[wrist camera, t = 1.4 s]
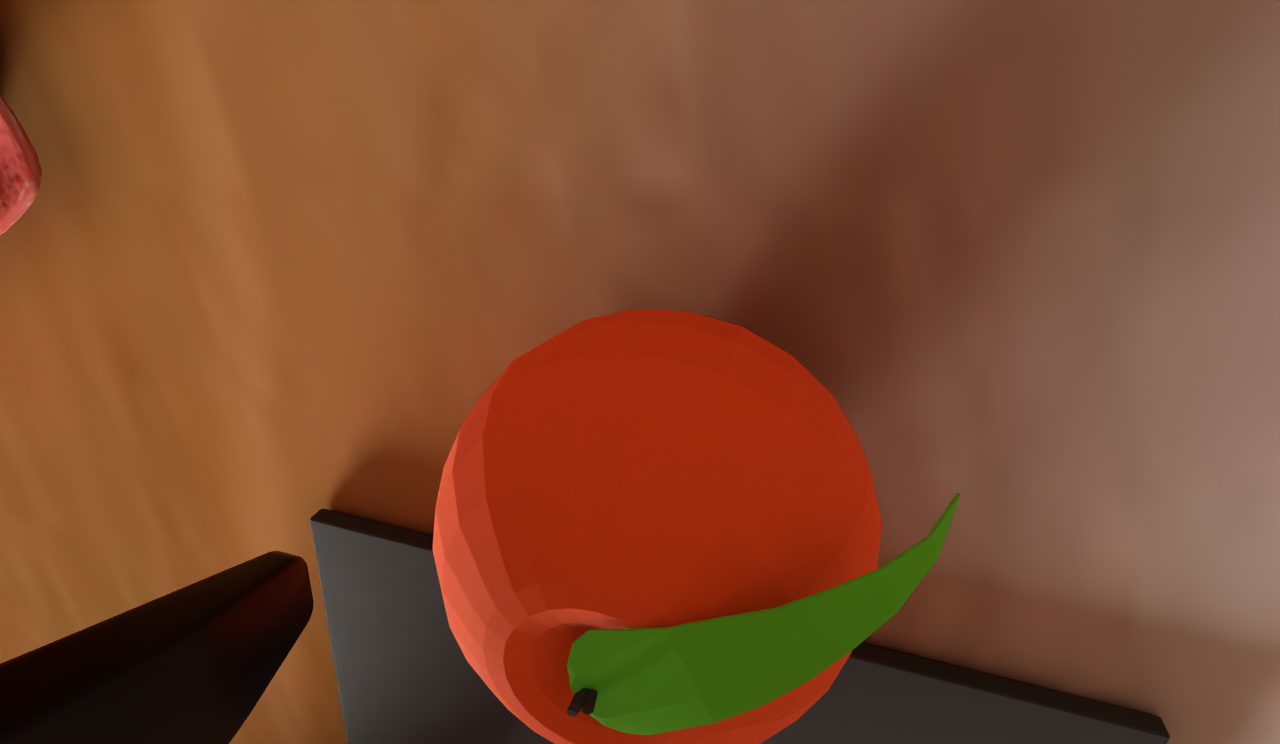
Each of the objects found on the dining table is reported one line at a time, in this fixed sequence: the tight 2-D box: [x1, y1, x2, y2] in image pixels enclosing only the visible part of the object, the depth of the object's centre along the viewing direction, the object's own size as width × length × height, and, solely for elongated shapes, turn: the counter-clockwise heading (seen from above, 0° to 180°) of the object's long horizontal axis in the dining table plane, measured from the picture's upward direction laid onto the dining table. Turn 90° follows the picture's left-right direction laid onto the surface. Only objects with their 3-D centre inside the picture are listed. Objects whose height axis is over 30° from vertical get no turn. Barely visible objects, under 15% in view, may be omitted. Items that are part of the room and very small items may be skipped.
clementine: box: [433, 309, 961, 744], centre depth 11 cm, size 8×7×7 cm
